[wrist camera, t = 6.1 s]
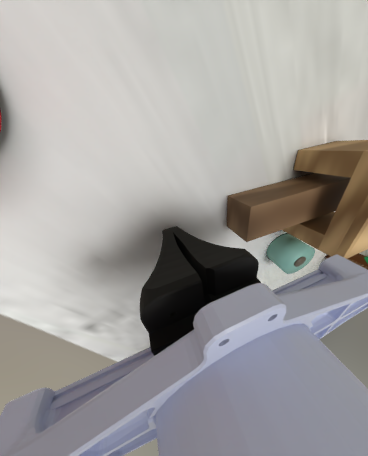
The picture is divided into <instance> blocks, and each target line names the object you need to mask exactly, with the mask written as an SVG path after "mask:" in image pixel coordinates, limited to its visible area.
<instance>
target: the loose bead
mask: <svg viewBox="0 0 368 456" xmlns="http://www.w3.org/2000/svg"><path fill="white" fill-rule="evenodd" d="M314 253H315V250H314V248H312V247H310V246H309V245H307V244H305V243H304V242H302V241H301V240H299V239H297V238H296V237H294V236H292V235H290V234H284V235H281V236H279V237H278V238H276V239H275V240H274V241H273V242H272V243H271V244H270V245H269V247H268V249H267V257H268V258H269V259H270V260H272V261H273V262H274V263H275V264H276V265H277V266H278V267H279V268H281V269H282V270H283V271H284V272H285V273H287V274H291V273H294V272H297V271H298V270H300V269H302V268H303V267H304V266H306V265H307V264H308V263H309V262H310V260H311V259H312V258H313V256H314Z"/></svg>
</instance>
